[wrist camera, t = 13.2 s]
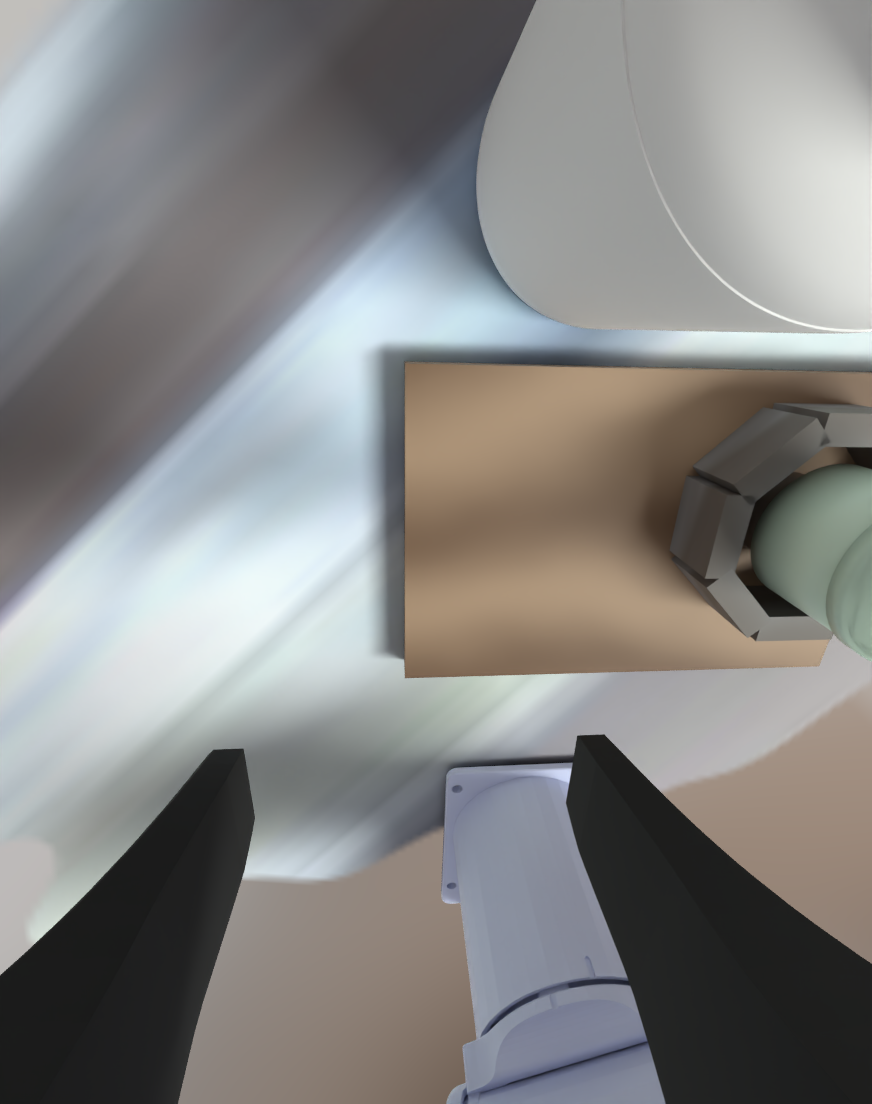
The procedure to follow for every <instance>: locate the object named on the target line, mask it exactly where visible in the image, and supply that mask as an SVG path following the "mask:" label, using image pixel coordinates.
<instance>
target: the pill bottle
mask: <svg viewBox="0 0 872 1104" xmlns="http://www.w3.org/2000/svg"><path fill="white" fill-rule="evenodd" d="M476 193H477V206H478V214H479V220H480V225H481V229H482V233H483V237H484V240H485V243H486V246H487V248H488V251H489V253H490V256H491V258H492V260H493V262H494V264H495V266H496V268H497V270H498V271H499V273H500V275H501V276H502V278H503V279H504V280H505V282H506V283H507V284H508V286H509V287H510V288H511V289H512V291H513V292H514V293H515V294H516V295H517V296H518V297H519V298H520V299H521V300H522V301H524V302H525V303H526V304H527V305H529V306H530V307H531V308H533V309H534V310H536V311H537V312H539V313H540V314H542V315H544V316H546V317H548V318H550V319H553V320H555V321H558V322H560V323H563V324H566V325H570V326H574V327H579V328H586V329H615V330H667V331H719V332H771V333H860V332H872V0H536V2H535V4H534V7H533V9H532V11H531V13H530V16H529V18H528V20H527V22H526V25H525V27H524V29H523V31H522V34H521V36H520V38H519V41H518V43H517V45H516V47H515V50H514V52H513V54H512V56H511V59H510V61H509V63H508V65H507V68H506V70H505V72H504V74H503V77H502V79H501V81H500V83H499V86H498V88H497V90H496V92H495V95H494V97H493V100H492V102H491V105H490V108H489V111H488V114H487V117H486V121H485V124H484V128H483V133H482V137H481V143H480V149H479V155H478V163H477V176H476Z"/></svg>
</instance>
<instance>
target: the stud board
mask: <svg viewBox="0 0 872 1104" xmlns="http://www.w3.org/2000/svg"><path fill="white" fill-rule="evenodd" d="M834 464H854V465H859V466H862V467H866V468H869V469H872V372H850V371H806V370H762V369H718V368H674V367H629V366H585V365H541V364H497V363H453V362H409V361H405V409H404V663H405V678H424V677H459V676H494V675H529V674H564V673H599V672H635V671H670V670H705V669H740V668H775V667H810V666H819V665H820V662H821V660H822V657H823V655H824V652H825V650H826V647H827V645H828V642H829V640H831V638H832V636H833V632H832V631H830V630H829V629H827V628H826V627H825V626H823V625H822V624H820V623H819V622H817V621H816V620H814V619H813V618H811V617H810V616H808V615H807V614H805V613H804V612H803V611H801V610H800V609H798V608H797V607H795V606H794V605H792V604H791V603H789V602H788V601H786V600H785V599H783V598H782V597H781V596H779V595H778V594H776V593H775V592H773V591H772V590H770V589H769V588H767V587H766V586H765V585H764V584H763V583H762V582H761V581H760V580H759V579H758V577H757V575H756V574H755V572H754V569H753V566H752V562H751V541H752V537H753V533H754V530H755V527H756V525H757V523H758V521H759V519H760V517H761V515H762V513H763V512H764V510H765V509H766V507H767V506H768V505H769V503H770V502H771V501H772V500H773V499H774V497H775V496H776V495H777V494H778V493H779V492H780V491H782V490H783V489H784V488H785V487H786V486H787V485H789V484H790V483H791V482H793V481H794V480H796V479H797V478H799V477H800V476H802V475H804V474H806V473H808V472H810V471H813V470H815V469H818V468H821V467H825V466H828V465H834Z"/></svg>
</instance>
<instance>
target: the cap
mask: <svg viewBox="0 0 872 1104" xmlns="http://www.w3.org/2000/svg"><path fill="white" fill-rule="evenodd" d="M751 562H752V566H753V569H754V572H755V574H756V575H757V577H758V579H759V580H760V581H761V582H762V583H763V584H764V585H765V586H766V587H767V588H769V589H770V590H772V591H773V592H775V593H776V594H778V595H779V596H781V597H782V598H783V599H785V600H786V601H788V602H789V603H791V604H792V605H794V606H795V607H797V608H798V609H800V610H801V611H803V612H804V613H805V614H807V615H808V616H810V617H811V618H813V619H814V620H816V621H817V622H819V623H820V624H822V625H823V626H825V627H826V628H827V629H829V630H830V631H832V632H833V633H834V635H835V636H836V637H837V638H838V639H839V640H840V641H841V642H842V643H843V644H845V645H846V646H847V647H849V648H850V649H852V650H853V651H855V652H856V653H858V654H859V655H860V656H862V657H864V658H865V659H867V660H869V661H872V469H869V468H866V467H862V466H859V465H854V464H834V465H828V466H825V467H821V468H818V469H815V470H813V471H810V472H808V473H806V474H804V475H802V476H800V477H799V478H797V479H796V480H794V481H793V482H791V483H790V484H789V485H787V486H786V487H785V488H784V489H783V490H782V491H780V492H779V493H778V494H777V495H776V496H775V497H774V499H773V500H772V501H771V502H770V503H769V505H768V506H767V507H766V509H765V510H764V512H763V513H762V515H761V517H760V519H759V521H758V523H757V525H756V527H755V530H754V533H753V537H752V541H751Z"/></svg>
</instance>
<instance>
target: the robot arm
mask: <svg viewBox="0 0 872 1104" xmlns="http://www.w3.org/2000/svg"><path fill="white" fill-rule="evenodd" d="M456 785H459V786H456ZM254 820H255V816H254V810H253V804H252V798H251V791H250V785H249V779H248V773H247V767H246V761H245V755H244V749H222V750H213V751H212V752H211V753H210V754H209V755H208V756H207V757H206V758H205V760H204V761H203V762H202V763H201V765H200V766H199V767H198V768H197V769H196V771H195V772H194V773H193V774H192V776H191V777H190V778H189V779H188V781H187V782H186V783H185V784H184V785H183V787H182V788H181V789H180V790H179V791H178V793H177V794H176V795H175V796H174V797H173V799H172V800H171V801H170V802H169V803H168V805H167V806H166V807H165V808H164V809H163V811H162V812H161V813H160V814H159V815H158V816H157V817H156V819H155V820H154V821H153V822H152V823H151V824H150V825H149V827H148V828H147V829H146V830H145V831H144V832H143V833H142V835H141V836H140V837H139V838H138V839H137V840H136V841H135V843H134V844H133V845H132V846H131V847H130V848H129V849H128V850H127V851H126V853H125V854H124V855H123V856H122V857H121V858H120V859H119V860H118V861H117V862H116V863H115V864H114V865H113V866H112V867H111V868H110V869H109V871H108V872H107V873H106V874H105V875H104V876H103V877H102V878H101V879H100V880H99V881H98V882H97V883H96V884H95V885H94V886H93V887H92V889H91V890H90V891H89V892H88V893H87V894H86V895H85V896H84V897H83V898H82V899H81V900H80V901H79V902H78V903H77V904H76V905H75V906H74V907H73V908H72V909H71V910H70V911H69V912H68V913H67V914H66V915H65V916H64V917H63V918H62V919H61V920H60V921H59V922H57V923H56V924H55V925H54V926H53V927H52V928H51V929H50V930H49V931H48V932H47V933H46V934H45V935H44V936H43V937H42V938H41V939H40V940H39V941H37V942H36V943H35V944H34V945H33V946H32V947H31V948H30V949H29V950H28V951H27V952H26V953H25V954H24V955H22V956H21V957H20V958H19V959H18V960H17V961H16V962H15V963H14V964H13V965H11V966H10V967H9V968H8V969H7V970H6V971H4V972H3V973H2V974H1V975H0V1104H178V1100H179V1096H180V1091H181V1088H182V1083H183V1079H184V1075H185V1070H186V1066H187V1062H188V1057H189V1053H190V1049H191V1045H192V1041H193V1036H194V1032H195V1029H196V1025H197V1021H198V1018H199V1014H200V1011H201V1007H202V1003H203V1000H204V997H205V994H206V991H207V988H208V984H209V981H210V978H211V975H212V972H213V969H214V966H215V962H216V959H217V956H218V953H219V950H220V947H221V944H222V940H223V937H224V934H225V931H226V928H227V924H228V922H229V918H230V915H231V912H232V909H233V906H234V902H235V899H236V896H237V893H238V889H239V886H240V883H241V880H242V877H243V873H244V870H245V865H246V860H247V856H248V851H249V846H250V841H251V836H252V831H253V825H254ZM441 894H442V900H443V901H444V902H446V903H461V910H462V919H463V927H464V936H465V944H466V952H467V961H468V969H469V977H470V985H471V994H472V1002H473V1011H474V1019H475V1027H476V1035H477V1040H475V1041H472V1042H469V1043H467V1044H465V1045H464V1046H463V1056H464V1066H465V1075H466V1083H465V1084H461V1085H459V1086H457V1087H456V1088H454V1089H453V1090H452V1092H451V1093H450V1095H449V1097H448V1100H447V1103H446V1104H872V964H871V963H870V962H868V961H867V960H865V959H864V958H862V957H860V956H859V955H858V954H856V953H855V952H853V951H852V950H851V949H849V948H848V947H847V946H845V945H844V944H842V943H841V942H840V941H838V940H837V939H835V938H834V937H832V936H831V935H830V934H828V933H827V932H825V931H824V930H823V929H821V928H820V927H818V926H817V925H815V924H814V923H813V922H812V921H810V920H809V919H808V918H806V917H805V916H804V915H802V914H801V913H799V912H798V911H797V910H795V909H794V908H793V907H791V906H790V905H789V904H787V903H786V902H785V901H784V900H782V899H781V898H780V897H779V896H778V895H776V894H775V893H774V892H772V891H771V890H770V889H768V888H767V887H766V886H765V885H764V884H762V883H761V882H760V881H759V880H757V879H756V878H755V877H754V876H752V875H751V874H750V873H749V872H748V871H746V870H745V869H744V868H743V867H741V866H740V865H739V864H738V863H737V862H736V861H734V860H733V859H732V858H731V857H730V856H729V855H727V854H726V853H725V852H724V851H723V850H722V849H721V848H720V847H718V846H717V845H716V844H715V843H714V842H713V841H712V840H710V838H708V837H707V836H706V835H705V834H704V833H702V831H701V830H700V829H698V828H697V827H696V826H695V825H694V824H693V823H692V822H691V821H690V820H689V819H688V818H687V817H686V816H685V815H684V814H683V813H681V811H679V810H678V809H677V808H676V807H675V806H674V805H673V804H672V803H671V802H670V801H669V800H668V799H667V798H666V797H665V796H664V795H663V794H662V793H661V792H660V791H659V790H658V789H657V788H656V787H655V786H654V785H653V784H652V783H651V782H650V781H649V780H648V779H647V778H646V777H645V776H644V775H643V774H642V773H641V772H640V771H639V770H638V769H637V768H636V767H635V766H634V765H633V764H632V762H631V761H630V760H629V759H628V758H627V757H626V756H625V755H624V754H623V753H622V752H621V751H620V750H619V749H618V748H617V747H616V746H615V745H614V744H613V743H612V742H611V741H610V740H609V739H608V738H607V737H606V736H605V735H581V736H577V741H576V747H575V753H574V758H573V763H553V764H530V765H507V766H484V767H461V768H453V769H451V770H450V771H449V772H448V773H447V776H446V797H445V819H444V841H443V864H442V887H441Z"/></svg>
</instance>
